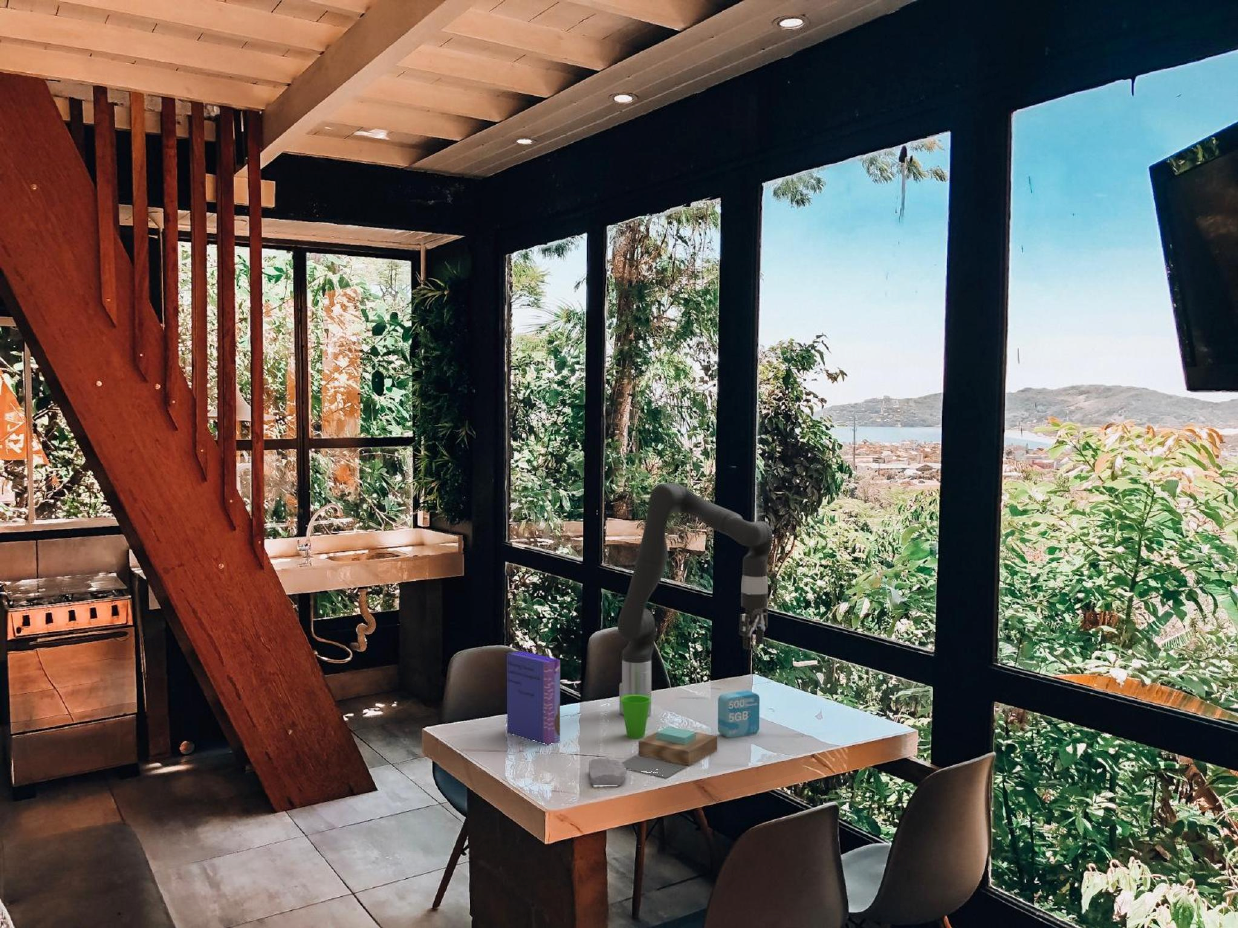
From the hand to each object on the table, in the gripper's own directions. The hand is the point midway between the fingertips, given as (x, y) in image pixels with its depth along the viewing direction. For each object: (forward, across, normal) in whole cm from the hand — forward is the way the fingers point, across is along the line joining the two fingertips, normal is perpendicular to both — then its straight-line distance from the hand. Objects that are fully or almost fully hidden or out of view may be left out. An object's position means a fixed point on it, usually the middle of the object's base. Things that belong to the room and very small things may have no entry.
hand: (753, 646), depth 286 cm
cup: (+28, +16, -30) cm, 44 cm away
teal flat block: (+23, +23, -12) cm, 35 cm away
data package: (+28, -3, -5) cm, 28 cm away
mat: (+27, +37, -12) cm, 47 cm away
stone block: (+28, +50, -17) cm, 60 cm away
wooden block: (+27, +22, -12) cm, 37 cm away
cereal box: (+28, +33, -54) cm, 70 cm away
